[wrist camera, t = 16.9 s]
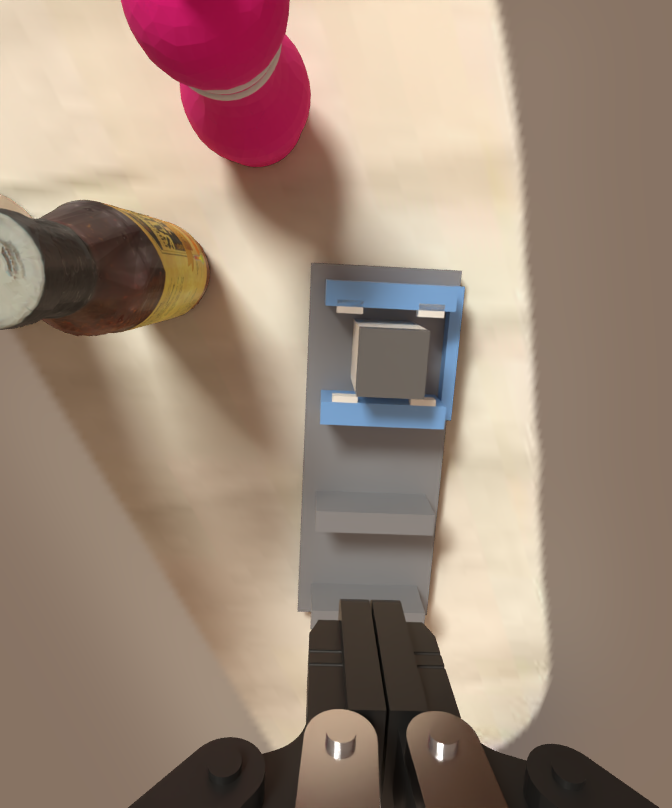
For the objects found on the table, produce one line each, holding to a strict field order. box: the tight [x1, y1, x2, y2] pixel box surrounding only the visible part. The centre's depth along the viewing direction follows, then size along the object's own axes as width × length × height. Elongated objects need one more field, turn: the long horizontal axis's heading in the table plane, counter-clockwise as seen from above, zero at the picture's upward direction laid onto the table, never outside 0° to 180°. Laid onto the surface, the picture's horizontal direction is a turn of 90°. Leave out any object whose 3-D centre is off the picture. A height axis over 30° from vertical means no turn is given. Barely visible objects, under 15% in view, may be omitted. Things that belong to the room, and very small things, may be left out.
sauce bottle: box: [0, 200, 210, 336], centre depth 28 cm, size 7×6×20 cm
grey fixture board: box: [298, 263, 465, 629], centre depth 38 cm, size 10×26×5 cm, turn 177°
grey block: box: [351, 319, 430, 399], centre depth 35 cm, size 4×4×6 cm
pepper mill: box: [121, 0, 311, 167], centre depth 26 cm, size 7×7×20 cm
